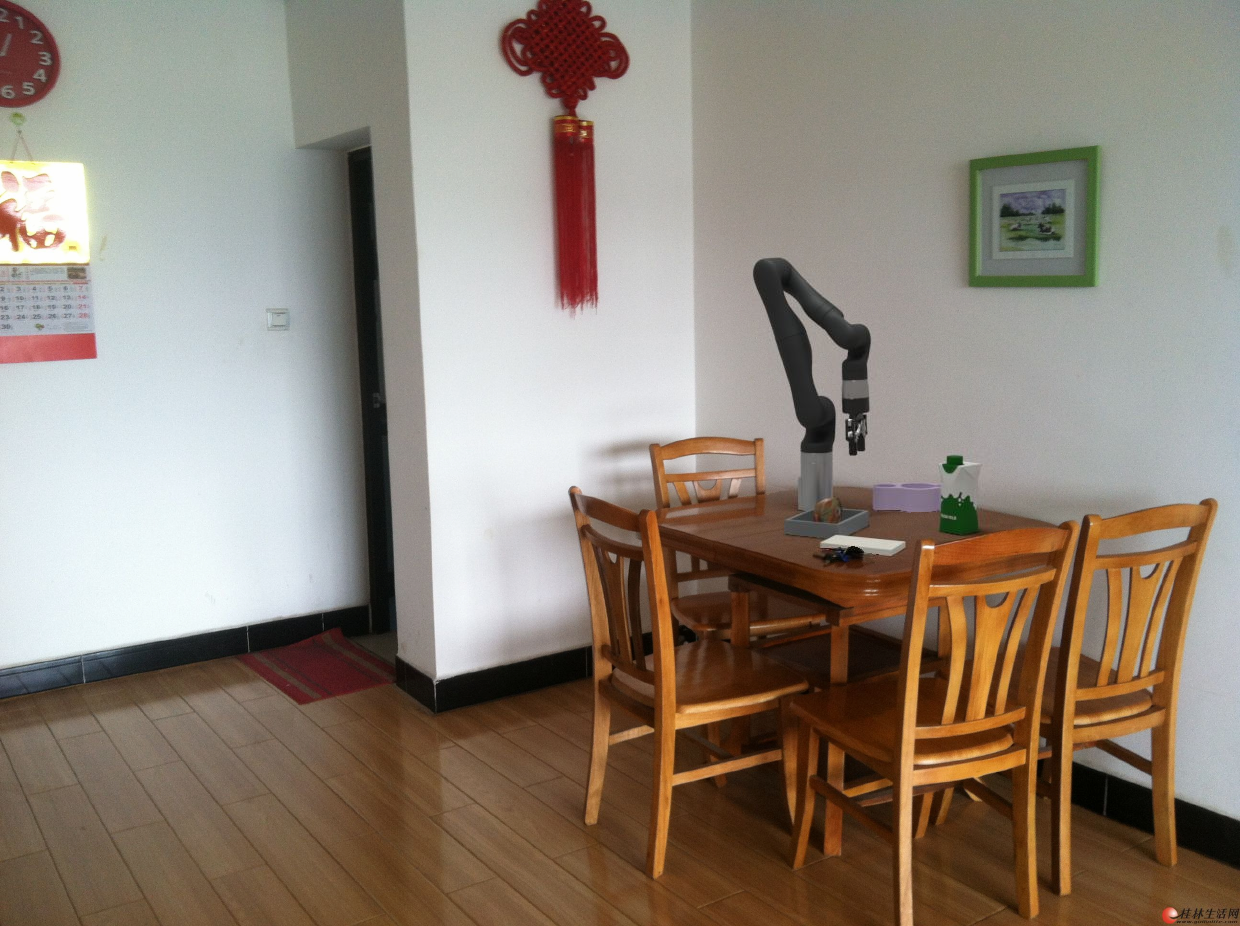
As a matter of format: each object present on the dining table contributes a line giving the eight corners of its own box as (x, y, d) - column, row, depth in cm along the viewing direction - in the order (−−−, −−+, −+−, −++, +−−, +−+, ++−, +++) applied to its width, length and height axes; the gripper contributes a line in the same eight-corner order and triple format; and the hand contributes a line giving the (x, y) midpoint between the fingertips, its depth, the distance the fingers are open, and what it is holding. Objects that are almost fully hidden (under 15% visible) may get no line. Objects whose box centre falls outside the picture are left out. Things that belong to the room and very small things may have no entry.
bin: (784, 534, 280) (784, 519, 279) (817, 520, 297) (817, 506, 297) (838, 540, 272) (838, 525, 271) (868, 525, 289) (869, 510, 288)
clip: (873, 512, 307) (873, 489, 306) (872, 504, 319) (872, 482, 318) (946, 513, 302) (946, 489, 301) (942, 505, 315) (942, 482, 314)
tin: (822, 536, 277) (822, 504, 276) (811, 535, 279) (811, 503, 278) (843, 525, 290) (843, 495, 289) (832, 524, 292) (832, 494, 290)
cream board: (820, 548, 263) (820, 542, 263) (836, 540, 271) (836, 534, 271) (891, 556, 253) (891, 549, 253) (905, 547, 261) (905, 541, 261)
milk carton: (933, 531, 279) (934, 455, 276) (957, 526, 284) (958, 452, 281) (961, 536, 272) (962, 459, 269) (984, 531, 277) (986, 455, 274)
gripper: (849, 394, 307) (850, 450, 309) (835, 398, 294) (837, 456, 296) (875, 393, 303) (876, 450, 305) (862, 398, 291) (863, 457, 293)
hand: (857, 453), depth 301 cm, fingers open, 8 cm apart
